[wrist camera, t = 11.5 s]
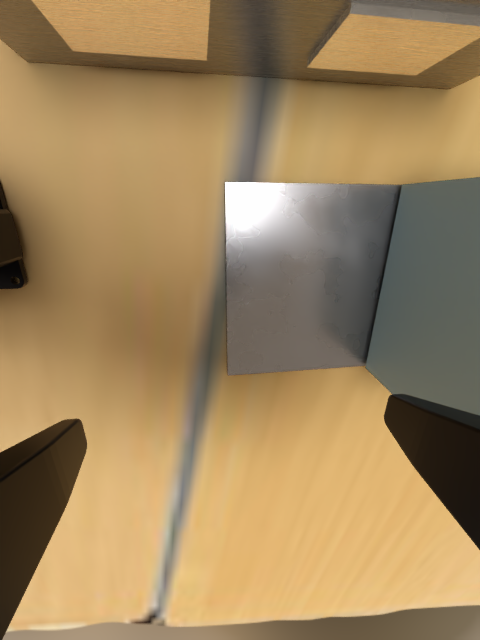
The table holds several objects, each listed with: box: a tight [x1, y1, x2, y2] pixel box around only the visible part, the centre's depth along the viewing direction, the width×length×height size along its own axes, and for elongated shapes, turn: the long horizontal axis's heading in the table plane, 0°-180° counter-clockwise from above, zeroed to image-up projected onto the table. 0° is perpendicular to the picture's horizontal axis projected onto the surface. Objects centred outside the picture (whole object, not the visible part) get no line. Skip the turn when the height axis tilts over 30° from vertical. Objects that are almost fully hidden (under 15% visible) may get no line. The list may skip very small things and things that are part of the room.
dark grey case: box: [0, 0, 480, 375], centre depth 14 cm, size 30×25×12 cm
